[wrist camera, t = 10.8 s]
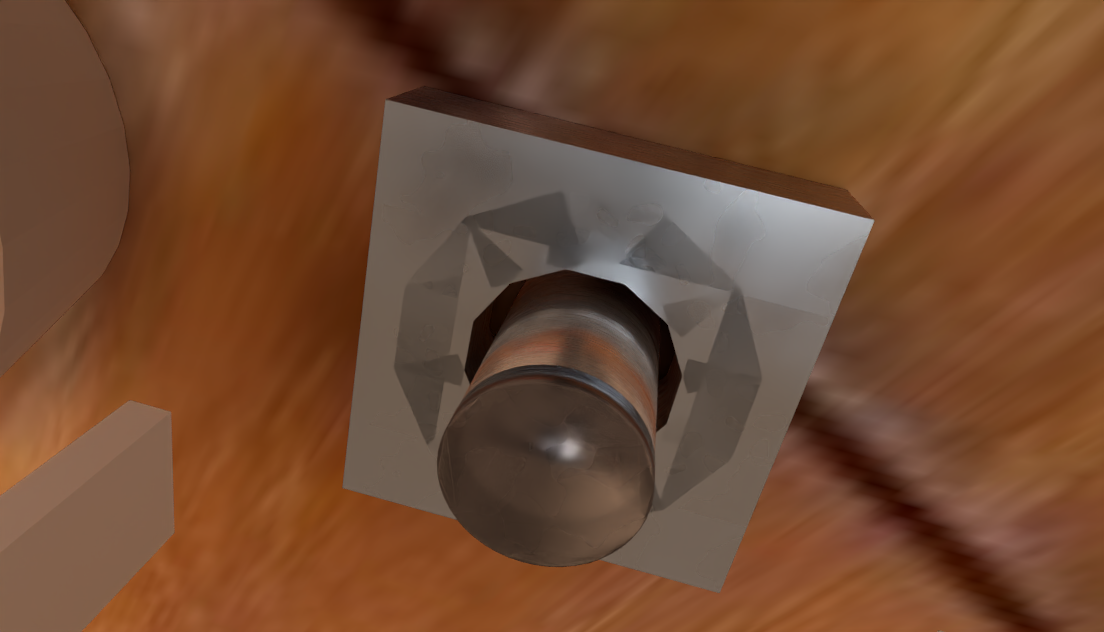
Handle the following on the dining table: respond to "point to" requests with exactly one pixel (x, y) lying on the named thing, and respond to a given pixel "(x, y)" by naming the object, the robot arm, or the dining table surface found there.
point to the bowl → (54, 169)
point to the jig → (610, 253)
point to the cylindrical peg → (558, 425)
